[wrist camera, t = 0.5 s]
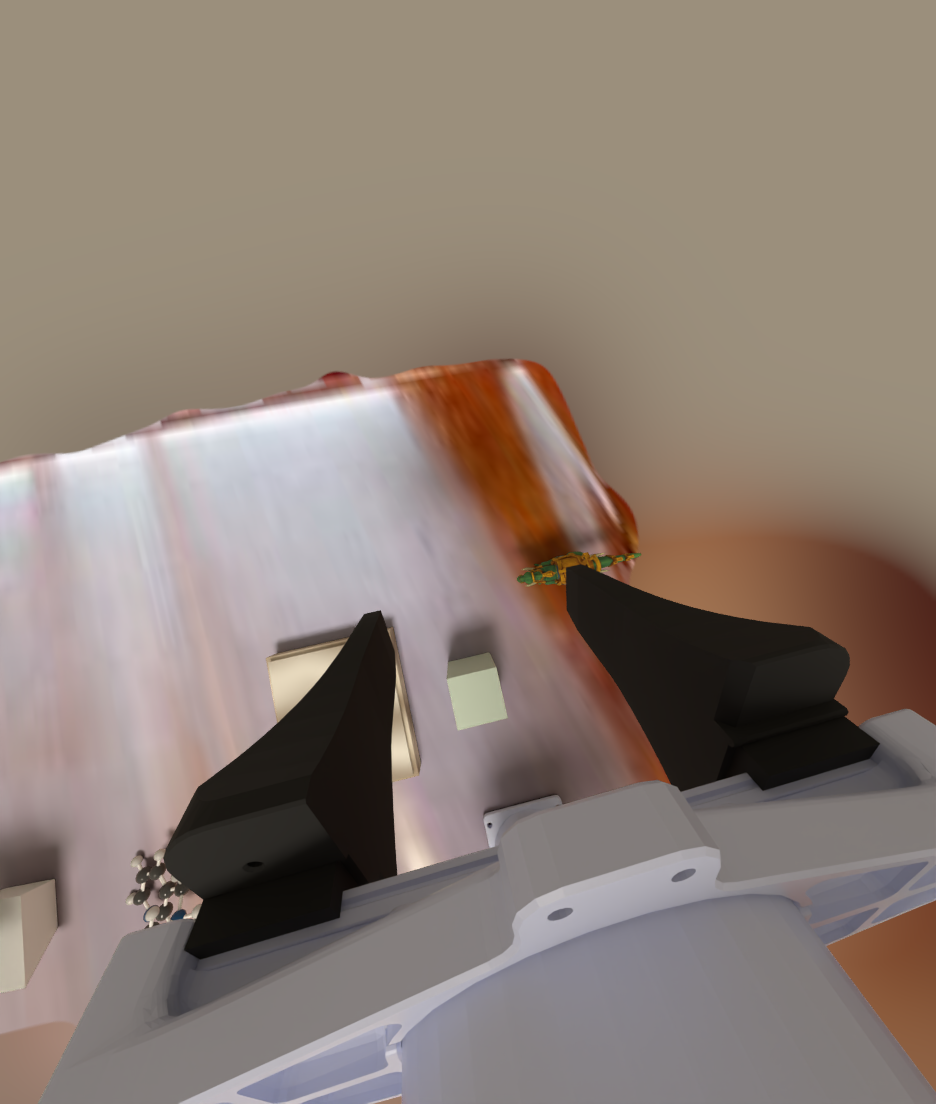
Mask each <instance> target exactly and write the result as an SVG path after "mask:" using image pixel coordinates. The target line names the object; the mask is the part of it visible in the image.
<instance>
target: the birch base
mask: <svg viewBox="0 0 936 1104" xmlns="http://www.w3.org/2000/svg"><path fill="white" fill-rule="evenodd" d="M387 630H388V633H389V636H390V638H391V641H392V644H393V647H394V650H395V660H396V687H395V700H394V713H393V726H392V744H391V752H392V782H395V781H399V780H403V779H407V778H411V777H415V776H419V772H420V767H421V762H420V757H419V752H418V747H417V742H416V737H415V732H414V727H413V722H412V717H411V712H410V707H409V703H408V698H407V693H406V688H405V683H404V678H403V673H402V668H401V663H400V658H399V653H398V648H397V644H396V639H395V634H394V629H393V627H390V628H387ZM348 639H349V637H347V638H342V639H338V640H333V641H329V642H325V643H320V644H316V645H312V646H307V647H303V648H298V649H294V650H290V651H285V652H281V653H277V654H274V655H272V656H269V657H267V658H266V661H267V667H268V673H269V678H270V684H271V690H272V695H273V701H274V707H275V713H276V718H277V723H278V722H279V721H280V720H281V719H282V718H283V717H284V716H285V715H286V714H287V713H288V712H289V711H290V710H291V709H292V708H293V707H294V706H295V705H296V704H297V703H298V702H299V701H300V700H301V699H302V698H303V697H304V696H305V695H306V694H307V693H308V692H309V690H310V689H311V688H312V687H313V686H314V685H315V684H316V682H317V681H318V680H319V679H320V678H321V676H322V675H323V674H324V672H325V671H326V670H327V668H328V667H329V666H330V664H331V663H332V662H333V660H334V659H335V658H336V656H337V655H338V653H339V652H340V650H341V649H342V648H343V646H344V645H345V643H346V642H347V640H348Z"/></svg>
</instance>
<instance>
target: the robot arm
mask: <svg viewBox="0 0 936 1104" xmlns="http://www.w3.org/2000/svg"><path fill="white" fill-rule="evenodd" d="M566 596H567V611H568V613H569V615H570V617H571V619H572V621H573V622H574V624H575V626H576V628H577V630H578V631H579V633H580V634H581V636H582V637H583V638H584V640H585V641H586V643H587V644H588V645H589V647H590V648H591V649H592V651H593V652H594V653H595V655H596V656H597V658H598V659H599V660H600V662H601V663H602V664H603V666H604V667H605V668H606V670H607V671H608V673H609V674H610V675H611V677H612V678H613V680H614V681H615V683H616V684H617V686H618V687H619V689H620V690H621V692H622V694H623V696H624V697H625V699H626V701H627V702H628V704H629V706H630V707H631V709H632V711H633V713H634V714H635V716H636V718H637V720H638V722H639V723H640V725H641V727H642V729H643V731H644V732H645V734H646V736H647V738H648V740H649V742H650V744H651V746H652V747H653V749H654V751H655V753H656V755H657V757H658V759H659V761H660V763H661V765H662V767H663V768H664V770H665V773H666V775H667V777H668V779H669V781H670V783H671V785H670V784H667V783H664V782H661V781H659V780H655V781H647V782H640V783H635V784H632V785H628V786H625V787H621V788H618V789H615V790H611V791H608V792H604V793H601V794H597V795H594V796H590V797H587V798H583V799H580V800H576V801H573V802H570V803H566V804H563V805H562V801H561V799H560V797H559V796H558V795H553V796H549V797H545V798H541V799H537V800H534V801H530V802H526V803H522V804H518V805H515V806H511V807H507V808H503V809H500V810H496V811H492V812H488V813H486V814H485V815H484V817H483V819H484V825H485V829H486V834H487V839H488V843H489V848H488V849H485V850H481V851H478V852H475V853H471V854H468V855H464V856H461V857H458V858H454V859H451V860H447V861H444V862H441V863H437V864H434V865H430V866H427V867H424V868H420V869H417V870H413V871H410V872H407V873H403V874H400V875H397V864H396V850H395V832H394V813H393V789H392V752H391V744H392V726H393V713H394V700H395V687H396V660H395V650H394V647H393V644H392V641H391V638H390V636H389V633H388V630H387V627H386V624H385V621H384V618H383V616H382V613H381V610H380V611H376V612H371V613H367V614H364V615H363V617H362V618H361V620H360V621H359V623H358V624H357V626H356V628H355V629H354V631H353V632H352V634H351V635H350V637H349V639H348V640H347V642H346V643H345V645H344V646H343V648H342V649H341V650H340V652H339V653H338V655H337V656H336V658H335V659H334V660H333V662H332V663H331V664H330V666H329V667H328V668H327V670H326V671H325V672H324V674H323V675H322V676H321V678H320V679H319V680H318V681H317V682H316V684H315V685H314V686H313V687H312V688H311V689H310V690H309V692H308V693H307V694H306V695H305V696H304V697H303V698H302V699H301V700H300V701H299V702H298V703H297V704H296V705H295V706H294V707H293V708H292V709H291V710H290V711H289V712H288V713H287V714H286V715H285V716H284V717H283V718H282V719H281V720H280V721H279V722H278V723H277V724H276V725H275V726H274V727H273V728H272V729H271V730H269V731H268V732H267V733H266V734H265V735H264V736H263V737H262V738H260V739H259V740H258V741H257V742H256V743H255V744H253V745H252V746H251V747H250V748H249V749H247V750H246V751H245V752H244V753H242V754H241V755H240V756H239V757H238V758H236V759H235V760H234V761H232V762H231V763H230V764H228V765H227V766H226V767H224V768H223V769H222V770H220V771H219V772H218V773H216V774H215V775H214V776H213V777H211V778H210V779H209V780H207V781H206V782H205V783H203V784H202V785H200V786H199V787H198V788H197V790H196V792H195V794H194V795H193V797H192V799H191V801H190V803H189V805H188V807H187V809H186V811H185V813H184V815H183V817H182V819H181V821H180V823H179V825H178V827H177V829H176V831H175V833H174V834H173V836H172V838H171V840H170V842H169V844H168V846H167V848H166V851H165V854H164V857H163V859H164V863H165V867H166V869H167V871H168V872H169V873H170V874H171V875H172V876H173V877H174V878H175V879H177V880H178V881H179V882H181V883H182V884H183V885H185V886H186V887H187V888H189V889H190V890H191V891H193V892H194V893H195V894H197V895H198V896H199V897H201V898H202V899H203V902H202V905H201V907H200V910H199V913H198V915H197V918H196V920H194V919H179V920H173V921H170V922H167V923H163V924H160V925H156V926H153V927H149V928H146V929H142V930H139V931H135V932H132V933H129V934H127V935H126V936H124V937H123V938H122V939H121V941H120V943H119V945H118V947H117V949H116V951H115V953H114V955H113V957H112V958H111V960H110V962H109V964H108V966H107V968H106V970H105V972H104V974H103V976H102V978H101V980H100V982H99V984H98V986H97V988H96V990H95V992H94V994H93V996H92V998H91V1000H90V1002H89V1004H88V1006H87V1008H86V1010H85V1012H84V1014H83V1016H82V1018H81V1020H80V1021H79V1023H78V1025H77V1027H76V1029H75V1032H74V1033H73V1035H72V1037H71V1039H70V1041H69V1043H68V1045H67V1047H66V1049H65V1051H64V1053H63V1055H62V1057H61V1059H60V1061H59V1063H58V1065H57V1067H56V1069H55V1071H54V1073H53V1075H52V1077H51V1079H50V1081H49V1083H48V1085H47V1086H46V1088H45V1090H44V1092H43V1094H42V1096H41V1098H40V1100H39V1102H38V1104H373V1103H377V1102H381V1101H384V1100H388V1099H391V1098H395V1097H399V1096H402V1104H936V1092H935V1091H934V1090H933V1088H932V1087H931V1085H930V1084H929V1083H928V1082H927V1080H926V1079H925V1077H924V1076H923V1075H922V1073H921V1072H920V1071H919V1070H918V1068H917V1067H916V1066H915V1064H914V1063H913V1062H912V1060H911V1059H910V1057H909V1056H908V1055H907V1053H906V1052H905V1051H904V1050H903V1048H902V1047H901V1046H900V1044H899V1043H898V1041H897V1040H896V1039H895V1038H894V1036H893V1035H892V1034H891V1032H890V1031H889V1030H888V1028H887V1027H886V1026H885V1024H884V1023H883V1022H882V1020H881V1019H880V1018H879V1016H878V1015H877V1014H876V1012H875V1011H874V1010H873V1008H872V1007H871V1006H870V1004H869V1003H868V1002H867V1000H866V999H865V998H864V996H863V995H862V994H861V992H860V991H859V990H858V988H857V987H856V986H855V984H854V983H853V982H852V980H851V979H850V978H849V976H848V975H847V974H846V972H845V971H844V970H843V968H842V967H841V966H840V964H839V963H838V962H837V961H836V959H835V958H834V956H833V955H832V954H831V952H830V951H829V950H828V948H827V947H826V946H827V945H829V944H832V943H834V942H836V941H839V940H841V939H843V938H846V937H848V936H850V935H853V934H855V933H858V932H860V931H862V930H865V929H867V928H869V927H872V926H874V925H877V924H879V923H881V922H884V921H886V920H889V919H890V918H893V917H896V916H898V915H901V914H903V913H905V912H908V911H910V910H912V909H915V908H918V907H920V906H923V905H925V904H927V903H930V902H932V901H935V900H936V726H935V725H934V724H932V723H931V722H929V721H928V720H926V719H924V718H923V717H921V716H920V715H918V714H917V713H915V712H914V711H912V710H910V709H902V710H899V711H895V712H892V713H888V714H885V715H882V716H878V717H875V718H871V719H869V720H867V721H865V722H864V723H862V724H861V725H859V726H856V725H855V724H854V723H852V722H851V721H850V720H848V719H847V718H846V717H844V716H845V715H847V714H848V710H847V708H846V707H844V706H843V705H841V704H840V703H839V702H838V701H836V700H835V699H834V697H835V695H836V693H837V691H838V690H839V688H840V686H841V684H842V682H843V680H844V678H845V676H846V674H847V671H848V669H849V666H850V657H849V654H848V652H847V650H846V649H845V648H843V647H842V646H840V645H839V644H837V643H835V642H834V641H832V640H830V639H829V638H827V637H826V636H824V635H822V634H821V633H819V632H817V631H816V630H814V629H813V628H811V627H804V626H795V625H787V624H778V623H770V622H762V621H756V620H749V619H744V618H738V617H733V616H728V615H723V614H718V613H714V612H710V611H705V610H701V609H697V608H693V607H689V606H686V605H683V604H679V603H676V602H673V601H670V600H666V599H663V598H660V597H658V596H655V595H652V594H650V593H647V592H644V591H642V590H639V589H637V588H634V587H632V586H629V585H627V584H625V583H622V582H620V581H618V580H616V579H614V578H611V577H609V576H607V575H605V574H603V573H600V572H598V571H596V570H594V569H592V568H589V567H587V566H584V565H582V564H579V565H575V566H570V567H566ZM556 805H559V806H556ZM555 806H556V807H555ZM488 823H492V824H491V825H487V824H488Z"/></svg>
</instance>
